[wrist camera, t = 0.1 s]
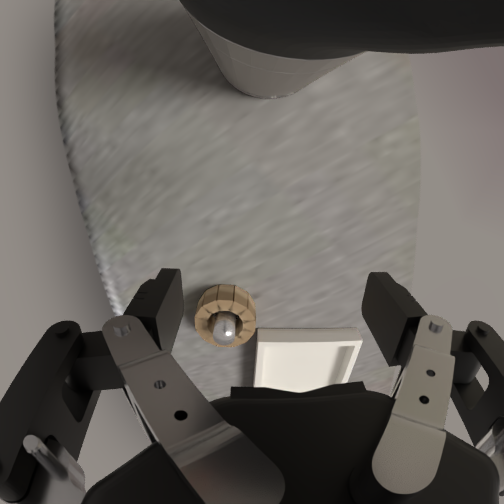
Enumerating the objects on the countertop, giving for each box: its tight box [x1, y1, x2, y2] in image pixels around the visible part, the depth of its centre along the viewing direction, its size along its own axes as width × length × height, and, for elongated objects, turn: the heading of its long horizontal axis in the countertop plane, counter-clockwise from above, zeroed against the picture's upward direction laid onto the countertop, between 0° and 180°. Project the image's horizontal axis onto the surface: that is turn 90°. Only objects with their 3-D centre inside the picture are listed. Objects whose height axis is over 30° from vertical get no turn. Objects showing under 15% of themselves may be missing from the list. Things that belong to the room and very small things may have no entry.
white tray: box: [253, 328, 363, 393], centre depth 36 cm, size 13×13×2 cm
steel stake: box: [213, 311, 236, 345], centre depth 31 cm, size 2×2×5 cm
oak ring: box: [195, 285, 256, 347], centre depth 32 cm, size 6×6×3 cm
